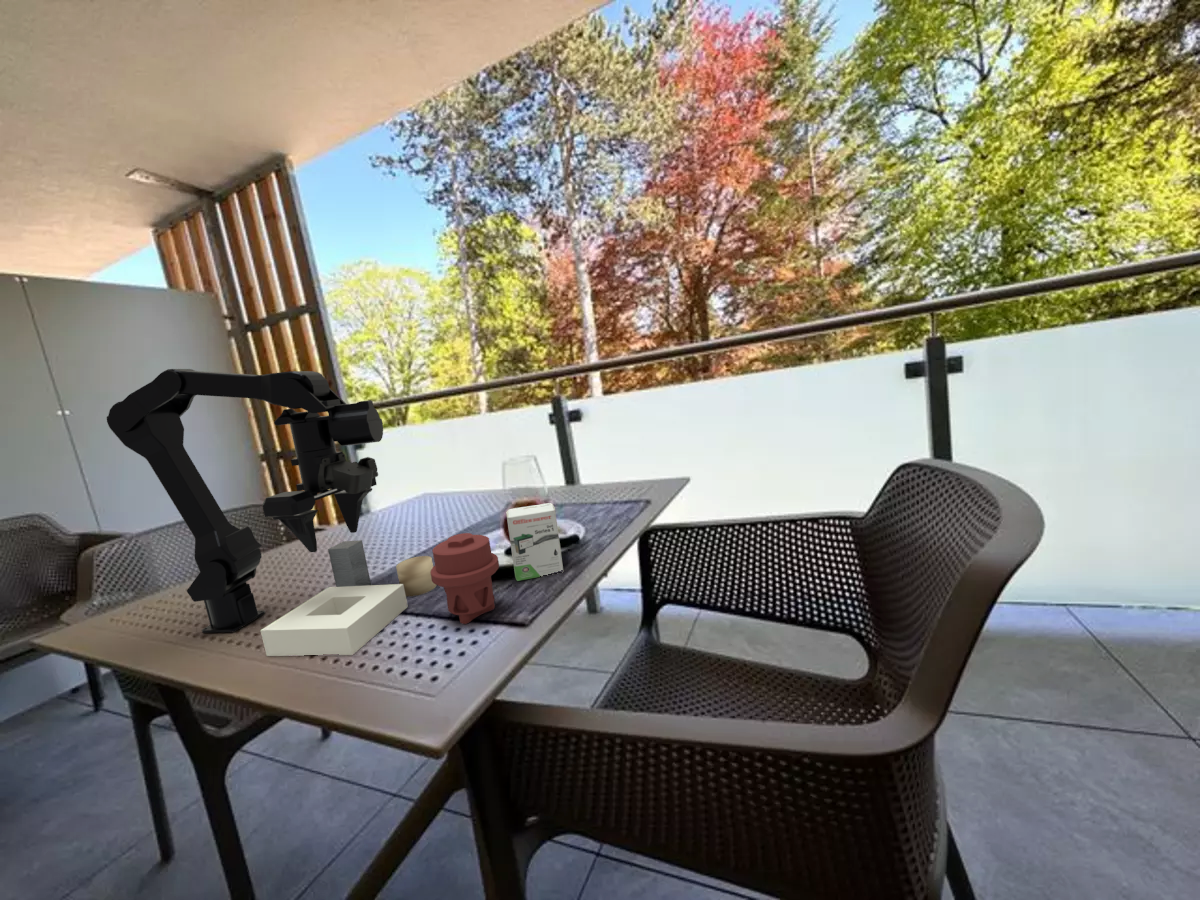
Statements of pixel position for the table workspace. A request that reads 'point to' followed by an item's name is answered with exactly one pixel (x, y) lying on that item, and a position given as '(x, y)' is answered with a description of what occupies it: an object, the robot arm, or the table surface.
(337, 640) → the socket block
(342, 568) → the square bar
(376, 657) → the table surface
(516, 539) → the ink box
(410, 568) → the beige rounded lump
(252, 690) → the table surface
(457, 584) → the mechanical component
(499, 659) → the table surface
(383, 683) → the table surface
